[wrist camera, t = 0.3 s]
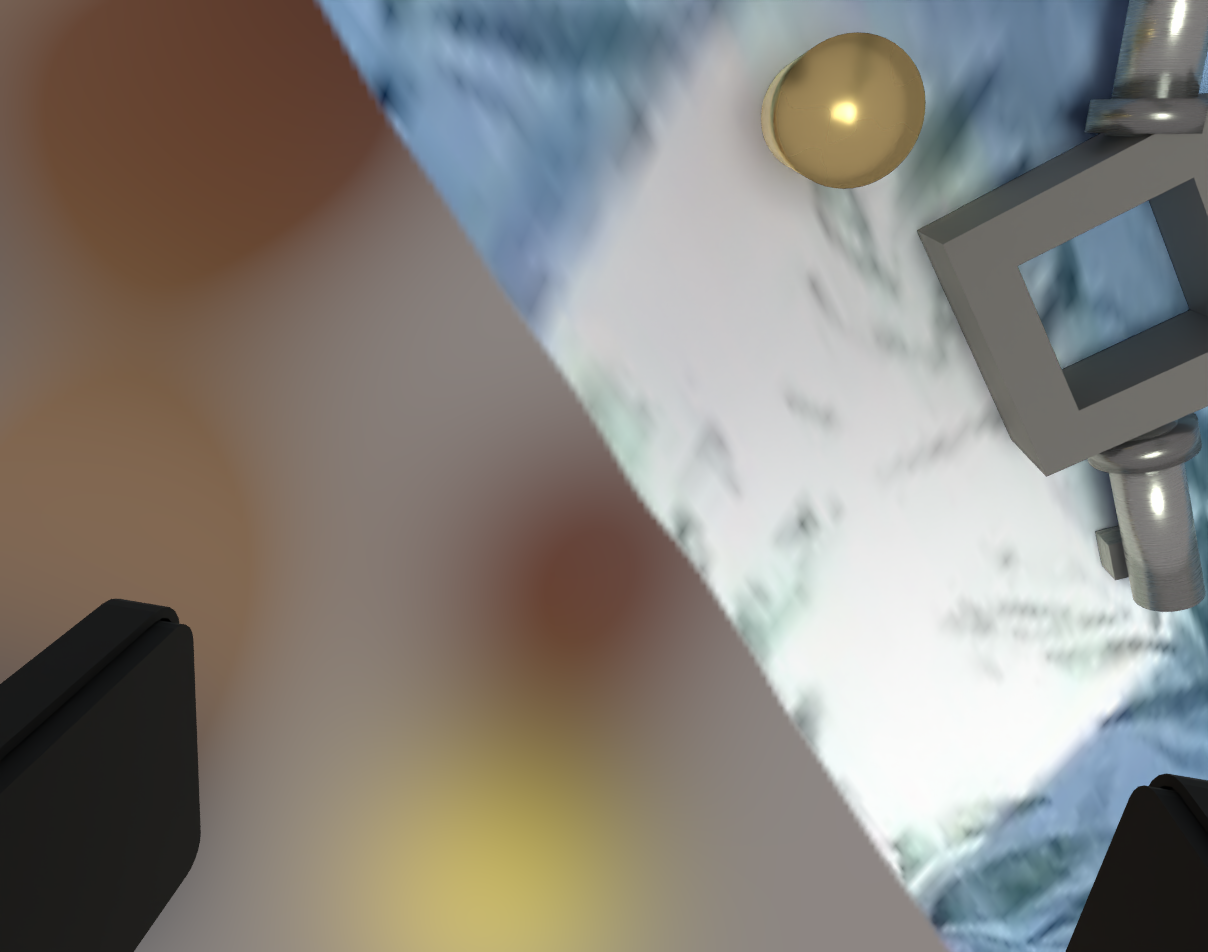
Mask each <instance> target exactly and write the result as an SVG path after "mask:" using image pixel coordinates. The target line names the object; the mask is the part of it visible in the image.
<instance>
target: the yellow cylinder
mask: <svg viewBox="0 0 1208 952" xmlns="http://www.w3.org/2000/svg"><path fill="white" fill-rule="evenodd" d="M924 115H925V91H924V86H923V82H922V79H921V76H920V73H919V71H918V69H917V67H916V66H915V64H914V62H913V61H912V60H911V58H910V57H909V56H908V55H907V53H906V52H905V51H904V50H903V49H901V48H900V47H899V46H898V45H896V44H895V43H893V42H891V41H890V40H888V39H886V38H883V37H881V36H878V35H874V34H869V33H847V34H842V35H838V36H835V37H832V38H829V39H827V40H825V41H823V42H821V43H819V44H818V45H816V46H815V47H813V48H812V49H810V50H809V51H808V52H806V53H805V54H803V55H802V56H800V57H799V58H797V59H796V60H794V61H793V62H791V63H790V64H789V65H787V66H786V67H785V68H784V69H782V70H781V71H780V72H779V74H778V75H777V76H776V77H775V78H774V80H773V81H772V83H771V84H770V86H769V88H768V90H767V92H766V95H765V97H764V100H763V105H762V111H761V126H762V132H763V135H764V139H765V141H766V143H767V145H768V147H769V149H770V151H771V152H772V153H773V155H774V156H775V157H776V158H777V159H778V160H779V161H780V162H782V163H783V164H784V165H786V166H787V167H789V168H791V169H793V170H794V171H796V172H798V173H800V174H801V175H803V176H805V177H807V178H808V179H810V180H812V181H814V182H816V183H818V184H821V185H824V186H827V187H832V188H841V189H846V188H856V187H861V186H865V185H868V184H871V183H873V182H875V181H877V180H879V179H881V178H883V177H884V176H886V175H888V174H889V173H890V172H892V171H893V170H894V169H895V168H896V167H898V166H899V164H900V163H901V162H902V161H903V160H904V159H905V158H906V157H907V155H908V154H909V153H910V151H911V150H912V148H913V146H914V145H915V143H916V141H917V138H918V136H919V134H920V131H921V128H922V125H923V120H924Z"/></svg>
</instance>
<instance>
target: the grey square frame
mask: <svg viewBox="0 0 1208 952" xmlns="http://www.w3.org/2000/svg"><path fill="white" fill-rule="evenodd" d="M1198 98H1208V93H1202V94H1198ZM1104 135H1105V133H1101V134H1099V135H1097V136H1095V137H1093V138H1091V139H1089V140H1087V141H1086V142H1084V143H1082V144H1080V145H1078V146H1076V147H1074V148H1072V149H1070V150H1069V151H1067V152H1065V153H1063V154H1061V155H1059V156H1057V157H1055V158H1053V159H1052V160H1050V161H1048V162H1046V163H1044V164H1042V165H1040V166H1038V167H1036V168H1035V169H1033V170H1031V171H1029V172H1027V173H1025V174H1023V175H1021V176H1019V177H1017V178H1016V179H1014V180H1012V181H1010V182H1008V183H1006V184H1004V185H1002V186H1000V187H999V188H997V189H995V190H993V191H991V192H989V193H987V194H985V195H983V196H982V197H980V198H978V199H976V200H974V201H972V202H970V203H968V204H966V205H965V206H963V207H961V208H959V209H957V210H955V211H953V212H951V213H949V214H948V215H946V216H944V217H942V218H940V219H938V220H936V221H934V222H932V223H931V224H929V225H927V226H925V227H923V228H921V229H919V230H917V232H918V234H919V237H920V239H921V241H922V243H923V245H924V248H925V250H926V252H927V254H928V257H929V259H930V261H931V263H932V265H933V268H934V270H935V272H936V274H937V276H938V279H939V281H940V283H941V285H942V287H943V290H944V292H945V294H946V296H947V298H948V301H949V303H950V305H951V307H952V310H953V312H954V314H955V316H956V318H957V321H958V323H959V325H960V327H961V329H962V332H963V334H964V336H965V338H966V340H967V343H968V345H969V347H970V349H971V351H972V354H973V356H974V358H975V360H976V362H977V365H978V367H979V369H980V371H981V374H982V376H983V378H984V380H985V382H986V385H987V387H988V389H989V391H990V393H991V396H992V398H993V400H994V402H995V404H996V407H997V409H998V411H999V413H1000V415H1001V418H1002V420H1003V422H1004V424H1005V427H1006V429H1007V431H1008V433H1009V435H1010V438H1011V440H1012V441H1013V442H1014V443H1015V444H1016V445H1017V446H1018V447H1019V448H1020V449H1021V450H1022V451H1023V453H1024V454H1025V455H1026V456H1027V457H1028V458H1029V459H1030V460H1031V461H1032V462H1033V463H1034V464H1035V465H1036V466H1037V467H1038V468H1039V469H1040V470H1041V471H1042V472H1043V474H1044V475H1045V476H1046V477H1047V476H1049V475H1051V474H1054V473H1056V472H1058V471H1060V470H1063V469H1065V468H1067V467H1070V466H1072V465H1074V464H1076V463H1079V462H1081V461H1083V460H1086V459H1088V458H1090V457H1092V456H1095V455H1097V454H1099V453H1102V452H1104V451H1106V450H1108V449H1111V448H1113V447H1115V446H1118V445H1120V444H1122V443H1124V442H1127V441H1129V440H1131V439H1134V438H1136V437H1138V436H1140V435H1143V434H1145V433H1147V432H1150V431H1152V430H1154V429H1156V428H1159V427H1161V426H1163V425H1166V424H1168V423H1170V422H1172V421H1175V420H1177V419H1179V418H1182V417H1184V416H1186V415H1188V414H1191V413H1193V412H1195V411H1198V410H1200V409H1202V408H1204V407H1207V406H1208V110H1207V115H1206V119H1205V124H1204V128H1203V133H1202V134H1148V135H1146V136H1143V137H1124V136H1104ZM1148 200H1149V202H1150V204H1151V207H1152V210H1153V212H1154V215H1155V218H1156V220H1157V223H1158V226H1159V228H1160V231H1161V234H1162V236H1163V239H1164V242H1165V244H1166V247H1167V250H1168V252H1169V255H1170V258H1171V260H1172V263H1173V266H1174V268H1175V271H1176V274H1177V276H1178V279H1179V282H1180V285H1181V287H1182V290H1183V293H1184V295H1185V298H1186V301H1187V303H1188V306H1189V309H1190V310H1189V311H1187V312H1185V313H1182V314H1180V315H1178V316H1176V317H1174V318H1172V319H1170V320H1167V321H1165V322H1163V323H1161V324H1159V325H1157V326H1155V327H1152V328H1150V329H1148V330H1146V331H1144V332H1142V333H1140V334H1137V335H1135V336H1133V337H1131V338H1129V339H1127V340H1125V341H1122V342H1120V343H1118V344H1116V345H1114V346H1112V347H1110V348H1107V349H1105V350H1103V351H1101V352H1099V353H1097V354H1095V355H1092V356H1090V357H1088V358H1086V359H1084V360H1082V361H1080V362H1077V363H1075V364H1073V365H1071V366H1069V367H1067V368H1065V369H1062V370H1061V367H1060V365H1059V363H1058V360H1057V358H1056V356H1055V353H1054V351H1053V349H1052V346H1051V344H1050V341H1049V339H1048V337H1047V334H1046V332H1045V330H1044V327H1043V325H1042V323H1041V320H1040V318H1039V316H1038V313H1037V311H1036V309H1035V306H1034V304H1033V302H1032V299H1031V297H1030V294H1029V292H1028V290H1027V287H1026V285H1025V283H1024V280H1023V278H1022V276H1021V273H1020V271H1019V269H1018V266H1019V265H1021V264H1023V263H1025V262H1027V261H1029V260H1031V259H1033V258H1035V257H1037V256H1038V255H1040V254H1042V253H1044V252H1046V251H1048V250H1050V249H1052V248H1054V247H1056V246H1058V245H1060V244H1062V243H1064V242H1066V241H1068V240H1070V239H1072V238H1074V237H1076V236H1078V235H1080V234H1082V233H1084V232H1086V231H1088V230H1090V229H1092V228H1094V227H1096V226H1098V225H1100V224H1102V223H1104V222H1106V221H1108V220H1110V219H1112V218H1114V217H1116V216H1118V215H1120V214H1122V213H1124V212H1126V211H1128V210H1130V209H1132V208H1134V207H1136V206H1138V205H1140V204H1142V203H1144V202H1146V201H1148Z"/></svg>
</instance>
